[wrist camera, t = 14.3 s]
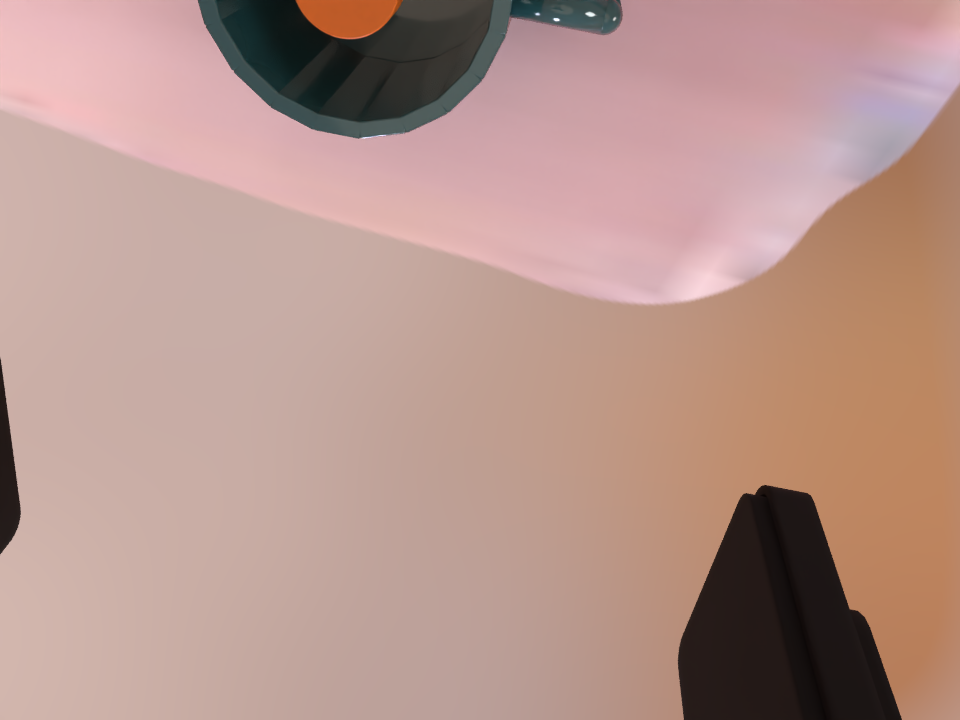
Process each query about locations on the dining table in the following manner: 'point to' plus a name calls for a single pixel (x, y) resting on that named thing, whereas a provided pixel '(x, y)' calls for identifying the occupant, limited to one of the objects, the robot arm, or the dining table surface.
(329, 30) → the glue stick
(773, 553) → the robot arm
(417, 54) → the mug
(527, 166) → the dining table surface
